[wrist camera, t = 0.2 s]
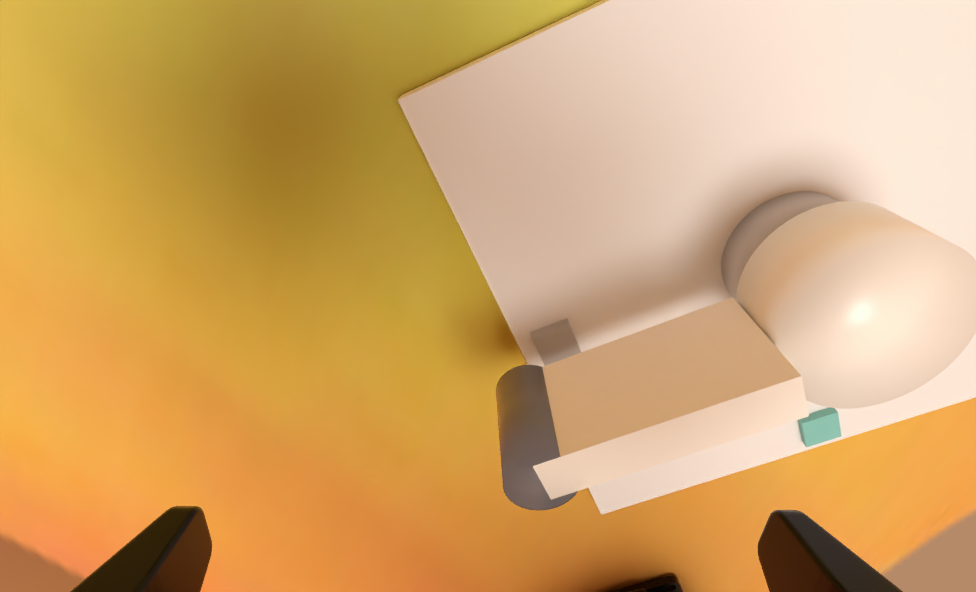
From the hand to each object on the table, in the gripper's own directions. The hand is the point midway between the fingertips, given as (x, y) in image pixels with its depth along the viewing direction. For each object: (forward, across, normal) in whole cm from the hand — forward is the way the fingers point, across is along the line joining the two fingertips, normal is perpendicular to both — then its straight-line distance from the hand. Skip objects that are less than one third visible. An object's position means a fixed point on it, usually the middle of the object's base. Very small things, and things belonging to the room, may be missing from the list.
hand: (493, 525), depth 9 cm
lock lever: (+11, -8, +3) cm, 13 cm away
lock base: (+14, -12, +1) cm, 18 cm away
